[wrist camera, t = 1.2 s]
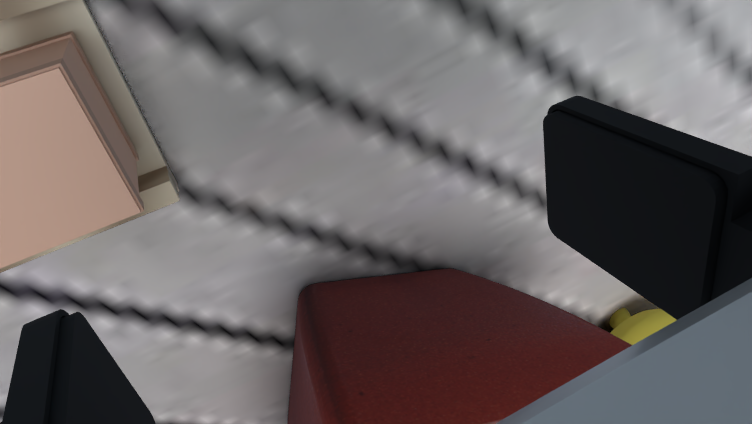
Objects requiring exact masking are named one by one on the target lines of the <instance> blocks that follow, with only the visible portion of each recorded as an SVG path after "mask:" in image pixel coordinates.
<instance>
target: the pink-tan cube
mask: <svg viewBox="0 0 752 424" xmlns="http://www.w3.org/2000/svg"><path fill="white" fill-rule="evenodd" d="M136 161H139V156H138V153H137V151H136V149H135V147H134V146H133V144H132V142H131V140H130V138H129V136H128V134H127V133H126V131H125V129H124V127H123V125H122V123H121V121H120V119H119V118H118V116H117V114H116V112H115V110H114V108H113V106H112V104H111V103H110V101H109V99H108V97H107V95H106V93H105V91H104V90H103V88H102V86H101V84H100V82H99V80H98V78H97V76H96V75H95V73H94V71H93V69H92V67H91V65H90V63H89V62H88V60H87V58H86V56H85V54H84V52H83V50H82V48H81V47H80V45H79V43H78V41H77V39H76V37H75V35H74V33H73V32H72V31H70V32H67V33H64V34H61V35H58V36H55V37H52V38H48V39H45V40H42V41H39V42H36V43H33V44H29V45H26V46H23V47H20V48H17V49H14V50H10V51H7V52H4V53H1V54H0V269H1V268H3V267H6V266H8V265H11V264H13V263H16V262H18V261H21V260H23V259H26V258H28V257H31V256H33V255H36V254H38V253H41V252H43V251H46V250H48V249H51V248H53V247H56V246H58V245H61V244H63V243H66V242H68V241H71V240H73V239H76V238H78V237H81V236H83V235H86V234H88V233H91V232H93V231H96V230H98V229H101V228H103V227H106V226H108V225H111V224H113V223H116V222H118V221H121V220H123V219H126V218H128V217H131V216H133V215H136V214H138V213H141V212H143V211H144V203H143V201H142V199H141V197H140V196H139V186H138V176H137V165H136Z"/></svg>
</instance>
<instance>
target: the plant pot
mask: <svg viewBox="0 0 752 424" xmlns="http://www.w3.org/2000/svg"><path fill="white" fill-rule="evenodd" d="M630 346H632V345H631V344H629V343H627V342H626V341H624V340H622V339H620V338H618V337H616V336H614V335H613V334H611V333H609V332H607V331H605V330H603V329H601V328H599V327H597V326H595V325H593V324H591V323H589V322H587V321H585V320H583V319H581V318H579V317H577V316H575V315H573V314H571V313H569V312H566V311H564V310H562V309H560V308H558V307H555V306H553V305H551V304H549V303H547V302H545V301H542V300H540V299H537V298H535V297H533V296H530V295H528V294H525V293H523V292H520V291H518V290H515V289H513V288H510V287H507V286H505V285H502V284H499V283H496V282H493V281H491V280H488V279H485V278H482V277H479V276H476V275H473V274H469V273H466V272H463V271H459V270H456V269H452V268H449V269H438V270H430V271H421V272H413V273H404V274H395V275H386V276H377V277H368V278H360V279H350V280H342V281H334V282H324V283H316V284H312V285H309V286H308V287H306V288H305V289H303V290H302V292H301V293H300V295H299V298H298V306H297V317H296V329H295V341H294V352H293V364H292V375H291V387H290V399H289V410H288V424H496V423H497V422H499V421H501V420H503V419H504V418H506V417H508V416H510V415H511V414H513V413H515V412H517V411H518V410H520V409H522V408H524V407H525V406H527V405H529V404H531V403H532V402H534V401H536V400H537V399H539V398H541V397H543V396H544V395H546V394H548V393H550V392H551V391H553V390H555V389H557V388H558V387H560V386H562V385H564V384H565V383H567V382H569V381H571V380H572V379H574V378H576V377H578V376H579V375H581V374H583V373H585V372H586V371H588V370H590V369H592V368H593V367H595V366H597V365H599V364H600V363H602V362H604V361H606V360H607V359H609V358H611V357H613V356H614V355H616V354H618V353H620V352H621V351H623V350H625V349H627V348H628V347H630Z"/></svg>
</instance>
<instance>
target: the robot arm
mask: <svg viewBox="0 0 752 424" xmlns="http://www.w3.org/2000/svg"><path fill="white" fill-rule="evenodd" d="M543 132H544V152H545V173H546V194H547V214H548V225H549V227H550V230H551V231H552V233H553V234H554V235H555V236H556V237H557V238H558V239H560V240H561V241H563V242H564V243H566V244H567V245H569V246H570V247H571V248H573V249H574V250H576V251H577V252H579V253H580V254H582V255H583V256H585V257H586V258H588V259H589V260H590V261H592V262H593V263H595V264H596V265H598V266H599V267H601V268H602V269H604V270H605V271H606V272H608V273H609V274H611V275H612V276H614V277H615V278H617V279H618V280H620V281H621V282H622V283H624V284H625V285H627V286H628V287H630V288H631V289H633V290H634V291H636V292H637V293H639V294H640V295H641V296H643V297H644V298H646V299H647V300H649V301H650V302H652V303H653V304H655V305H656V306H657V307H659V308H660V309H662V310H663V311H665V312H666V313H668V314H669V315H671V316H672V317H673V318H675V319H676V321H675V322H673V323H671V324H669V325H667V326H666V327H664V328H662V329H660V330H659V331H657V332H655V333H653V334H651V335H650V336H648V337H646V338H644V339H643V340H641V341H639V342H637V343H636V344H634V345H632V346H630V347H628V348H627V349H625V350H623V351H621V352H620V353H618V354H616V355H614V356H613V357H611V358H609V359H607V360H606V361H604V362H602V363H600V364H599V365H597V366H595V367H593V368H592V369H590V370H588V371H586V372H585V373H583V374H581V375H579V376H578V377H576V378H574V379H572V380H571V381H569V382H567V383H565V384H564V385H562V386H560V387H558V388H557V389H555V390H553V391H551V392H550V393H548V394H546V395H544V396H543V397H541V398H539V399H537V400H536V401H534V402H532V403H531V404H529V405H527V406H525V407H524V408H522V409H520V410H518V411H517V412H515V413H513V414H511V415H510V416H508V417H506V418H504V419H503V420H501V421H499V422H497V423H496V424H752V157H751V156H748V155H745V154H742V153H740V152H737V151H734V150H731V149H728V148H725V147H723V146H720V145H717V144H714V143H711V142H709V141H706V140H703V139H700V138H697V137H694V136H692V135H689V134H686V133H683V132H680V131H677V130H675V129H672V128H669V127H666V126H663V125H660V124H658V123H655V122H652V121H649V120H646V119H644V118H641V117H638V116H635V115H632V114H629V113H627V112H624V111H621V110H618V109H615V108H612V107H610V106H607V105H604V104H601V103H598V102H596V101H593V100H590V99H587V98H584V97H581V96H574V97H571V98H569V99H567V100H564V101H562V102H559V103H557V104H555V105H552V106H551V107H550V108H549V110H548V114H547V115H546V117H545V118H544V120H543ZM0 424H155V421H154V418H153V416H152V414H151V413H150V411H149V410H148V408H147V407H146V405H145V404H144V402H143V401H142V399H141V398H140V397H139V395H138V394H137V392H136V391H135V389H134V388H133V386H132V385H131V384H130V382H129V381H128V379H127V378H126V376H125V375H124V373H123V372H122V371H121V369H120V368H119V366H118V365H117V363H116V362H115V360H114V359H113V358H112V356H111V355H110V353H109V352H108V350H107V349H106V347H105V346H104V345H103V343H102V342H101V340H100V339H99V337H98V336H97V334H96V333H95V332H94V330H93V329H92V327H91V326H90V324H89V323H88V321H87V320H86V319H85V317H84V316H83V315H82V314H81V313H80V312H76V313H73V314H71V315H69V314H68V313H67V312H66V311H64V310H61V309H60V310H58V311H55V312H53V313H51V314H48V315H46V316H43V317H41V318H39V319H36V320H34V321H31V322H29V323H27V324H25V325H23V328H22V331H21V335H20V340H19V345H18V350H17V354H16V359H15V364H14V369H13V373H12V378H11V383H10V387H9V392H8V397H7V402H6V406H5V411H4V416H3V421H2V422H1V423H0Z"/></svg>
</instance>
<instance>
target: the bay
mask: <svg viewBox="0 0 752 424" xmlns="http://www.w3.org/2000/svg"><path fill="white" fill-rule="evenodd" d="M70 31H72V32H73V33H74V35H75V37H76V39H77V41H78V43H79V45H80V47H81V48H82V50H83V52H84V54H85V56H86V58H87V60H88V62H89V63H90V65H91V67H92V69H93V71H94V73H95V75H96V76H97V78H98V80H99V82H100V84H101V86H102V88H103V90H104V91H105V93H106V95H107V97H108V99H109V101H110V103H111V104H112V106H113V108H114V110H115V112H116V114H117V116H118V118H119V119H120V121H121V123H122V125H123V127H124V129H125V131H126V133H127V134H128V136H129V138H130V140H131V142H132V144H133V146H134V147H135V149H136V151H137V153H138V156H139V161H136V165H137V176H138V186H139V196H140V197H141V199H142V201H143V203H144V211H143V212H141V213H138V214H136V215H133V216H131V217H128V218H126V219H123V220H121V221H118V222H116V223H113V224H111V225H108V226H106V227H103V228H101V229H98V230H96V231H93V232H91V233H88V234H86V235H83V236H81V237H78V238H76V239H73V240H71V241H68V242H66V243H63V244H61V245H58V246H56V247H53V248H51V249H48V250H46V251H43V252H41V253H38V254H36V255H33V256H31V257H28V258H26V259H23V260H21V261H18V262H16V263H13V264H11V265H8V266H6V267H3V268H1V269H0V273H1V272H4V271H6V270H8V269H11V268H13V267H16V266H18V265H21V264H23V263H26V262H28V261H31V260H33V259H36V258H38V257H41V256H43V255H46V254H48V253H51V252H53V251H56V250H58V249H61V248H63V247H66V246H68V245H71V244H73V243H76V242H78V241H81V240H83V239H86V238H88V237H91V236H93V235H96V234H98V233H101V232H103V231H106V230H108V229H111V228H113V227H116V226H118V225H121V224H123V223H126V222H128V221H131V220H133V219H136V218H138V217H141V216H143V215H146V214H148V213H151V212H153V211H156V210H158V209H160V208H163V207H165V206H168V205H170V204H173V203H175V202H178V201H180V199H179V194H178V191H179V187H178V183H177V182H176V180H175V178H174V176H173V174H172V172H171V170H170V168H169V166H168V164H167V162H166V160H165V158H164V156H163V154H162V152H161V150H160V148H159V146H158V144H157V142H156V140H155V138H154V136H153V134H152V132H151V130H150V128H149V126H148V124H147V122H146V120H145V118H144V116H143V114H142V112H141V110H140V108H139V107H138V105H137V103H136V101H135V99H134V97H133V95H132V93H131V91H130V89H129V87H128V85H127V83H126V81H125V79H124V77H123V75H122V73H121V71H120V69H119V67H118V65H117V63H116V61H115V59H114V57H113V55H112V53H111V51H110V49H109V47H108V45H107V43H106V41H105V39H104V37H103V35H102V33H101V31H100V30H99V28H98V26H97V24H96V22H95V20H94V18H93V16H92V14H91V12H90V10H89V8H88V6H87V4H86V2H85V0H0V54H1V53H4V52H7V51H10V50H14V49H17V48H20V47H23V46H26V45H29V44H33V43H36V42H39V41H42V40H45V39H48V38H52V37H55V36H58V35H61V34H64V33H67V32H70Z"/></svg>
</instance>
